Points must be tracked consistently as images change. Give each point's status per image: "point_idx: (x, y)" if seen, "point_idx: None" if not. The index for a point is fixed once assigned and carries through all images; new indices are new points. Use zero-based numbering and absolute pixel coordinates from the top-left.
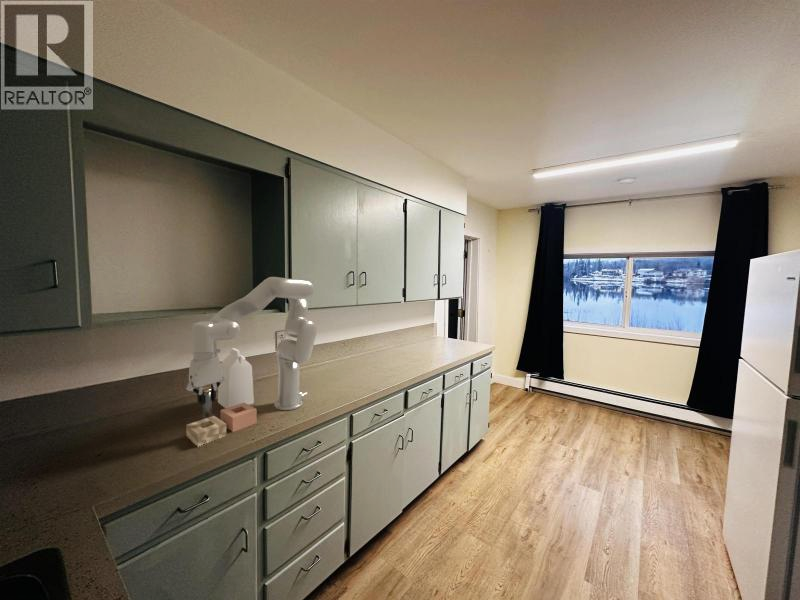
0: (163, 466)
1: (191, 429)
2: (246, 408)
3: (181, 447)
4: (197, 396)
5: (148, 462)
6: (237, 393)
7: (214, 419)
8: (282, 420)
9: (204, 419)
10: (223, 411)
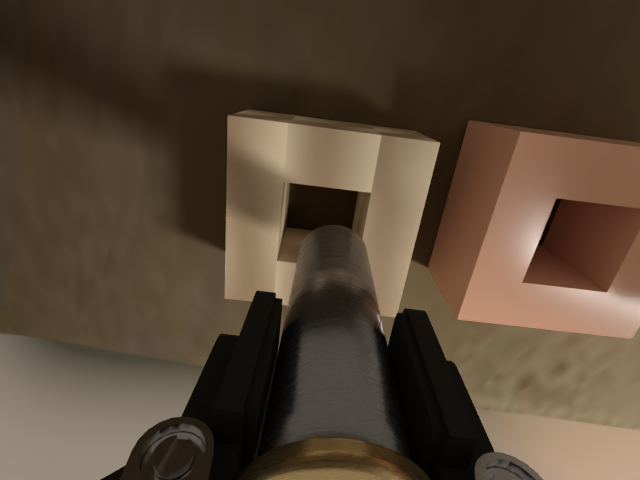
0: (81, 282)
1: (226, 209)
2: (622, 275)
3: (187, 196)
4: (195, 392)
5: (32, 200)
6: None
7: (397, 207)
8: (634, 360)
9: (359, 143)
10: (508, 180)
